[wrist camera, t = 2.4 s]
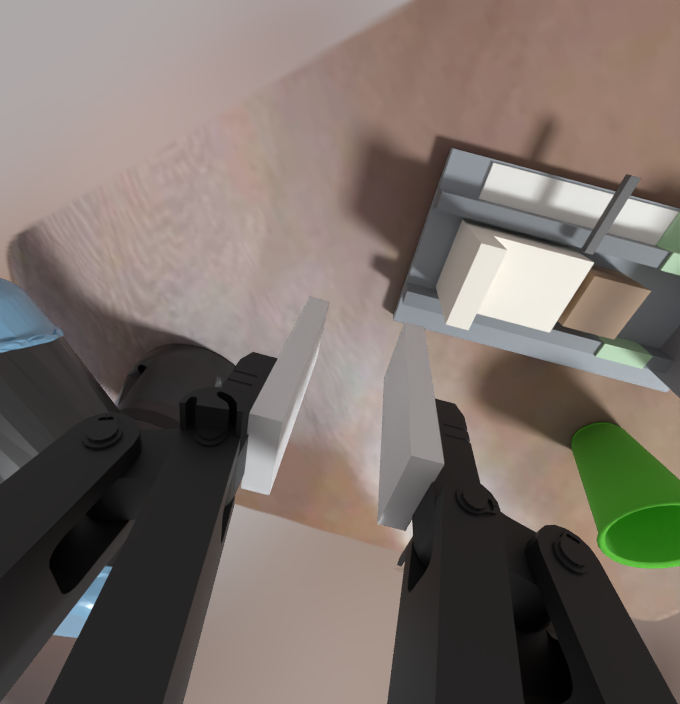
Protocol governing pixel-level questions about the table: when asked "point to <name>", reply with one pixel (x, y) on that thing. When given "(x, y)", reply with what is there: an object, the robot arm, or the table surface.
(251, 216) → the table surface
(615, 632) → the robot arm
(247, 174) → the table surface
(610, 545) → the cup
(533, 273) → the cream block
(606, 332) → the tan wooden cube
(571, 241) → the base
